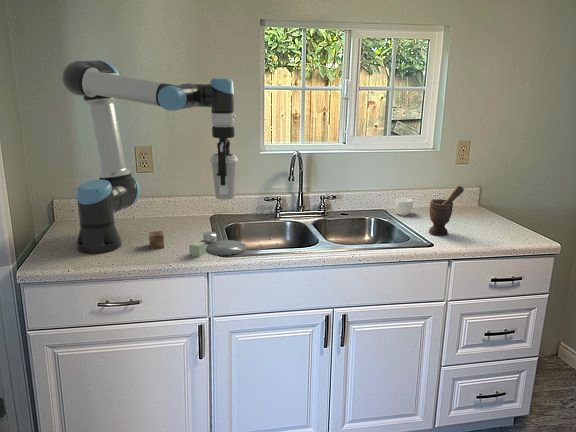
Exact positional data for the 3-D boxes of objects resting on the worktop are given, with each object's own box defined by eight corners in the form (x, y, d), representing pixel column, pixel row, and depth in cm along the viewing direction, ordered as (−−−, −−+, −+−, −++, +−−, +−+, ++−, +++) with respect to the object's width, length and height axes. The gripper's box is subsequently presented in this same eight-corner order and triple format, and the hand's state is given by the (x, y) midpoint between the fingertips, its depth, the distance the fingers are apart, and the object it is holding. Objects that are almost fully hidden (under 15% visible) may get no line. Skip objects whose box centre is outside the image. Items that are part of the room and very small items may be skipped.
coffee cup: (234, 201, 181) (233, 157, 177) (207, 199, 183) (206, 156, 178) (242, 194, 190) (241, 153, 186) (216, 193, 192) (215, 152, 187)
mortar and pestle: (452, 230, 216) (458, 182, 210) (460, 236, 208) (466, 187, 202) (424, 230, 216) (429, 182, 210) (431, 237, 207) (436, 187, 202)
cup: (396, 216, 234) (397, 201, 232) (391, 210, 243) (392, 196, 241) (413, 216, 234) (414, 202, 232) (408, 210, 243) (409, 196, 241)
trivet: (204, 255, 185) (204, 253, 185) (209, 242, 198) (209, 240, 198) (244, 255, 185) (244, 253, 185) (247, 242, 198) (247, 240, 198)
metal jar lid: (202, 243, 197) (202, 236, 196) (204, 239, 202) (204, 231, 201) (215, 243, 197) (215, 236, 196) (217, 239, 202) (217, 231, 201)
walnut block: (149, 249, 190) (149, 236, 189) (149, 244, 195) (148, 231, 194) (164, 248, 192) (163, 235, 190) (163, 243, 196) (162, 230, 195)
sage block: (189, 255, 185) (189, 244, 184) (195, 251, 188) (195, 241, 187) (199, 257, 183) (199, 246, 182) (205, 253, 187) (205, 242, 186)
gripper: (231, 129, 169) (232, 198, 176) (236, 122, 189) (238, 184, 195) (207, 129, 169) (210, 198, 176) (215, 122, 189) (217, 184, 195)
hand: (224, 191), depth 186 cm, fingers closed on coffee cup, 8 cm apart
